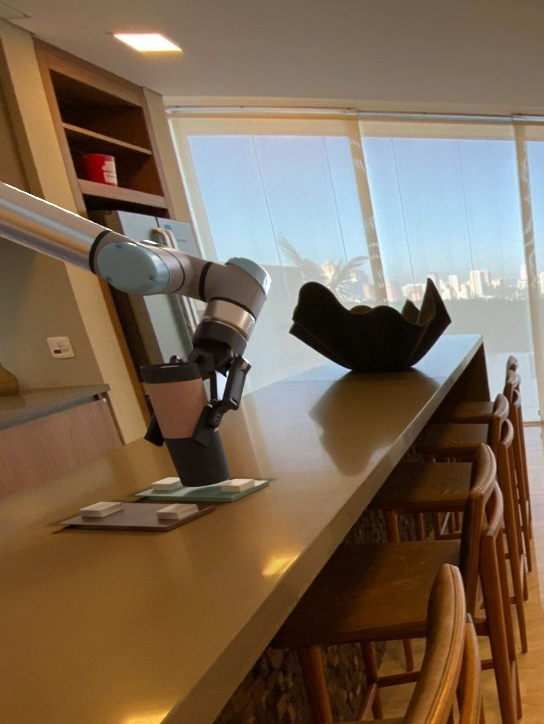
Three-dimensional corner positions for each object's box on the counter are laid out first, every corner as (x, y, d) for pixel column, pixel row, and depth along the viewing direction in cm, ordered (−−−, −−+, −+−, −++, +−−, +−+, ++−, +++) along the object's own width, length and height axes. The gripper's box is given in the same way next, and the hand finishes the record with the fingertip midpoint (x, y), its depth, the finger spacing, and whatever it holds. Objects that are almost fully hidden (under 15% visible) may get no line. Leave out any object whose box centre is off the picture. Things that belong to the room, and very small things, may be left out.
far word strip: (135, 499, 97) (131, 488, 96) (179, 482, 105) (176, 472, 104) (232, 502, 95) (228, 490, 95) (269, 484, 104) (266, 474, 103)
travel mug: (171, 490, 95) (128, 369, 88) (191, 476, 102) (152, 363, 94) (223, 485, 97) (185, 366, 89) (239, 472, 104) (205, 360, 96)
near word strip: (59, 528, 85) (53, 516, 85) (115, 506, 94) (111, 495, 93) (168, 531, 84) (163, 519, 83) (215, 509, 92) (212, 498, 91)
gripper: (289, 347, 105) (249, 455, 96) (188, 347, 107) (139, 453, 98) (261, 318, 98) (215, 431, 89) (154, 319, 100) (98, 430, 91)
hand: (175, 442), depth 93 cm, fingers closed on travel mug, 8 cm apart
